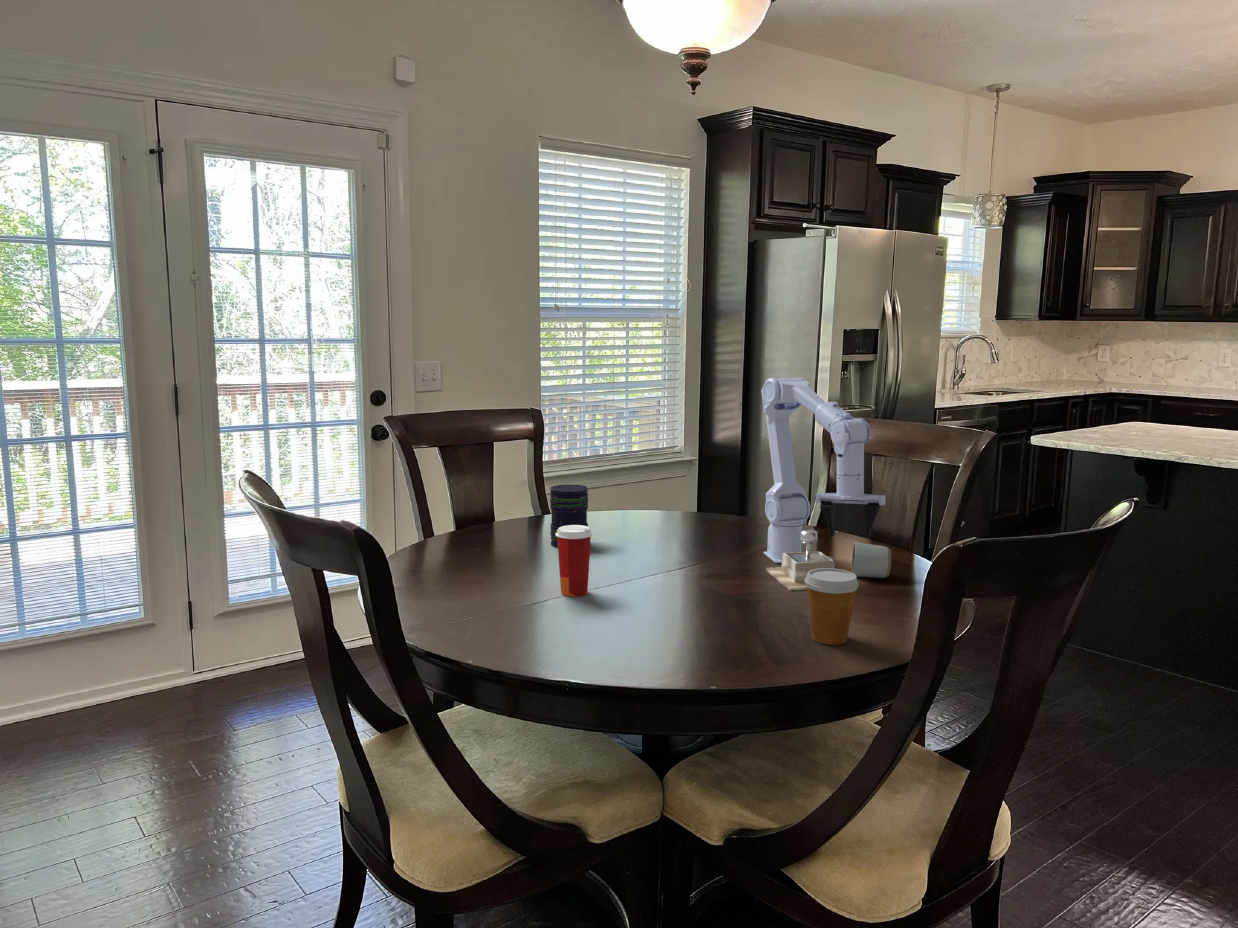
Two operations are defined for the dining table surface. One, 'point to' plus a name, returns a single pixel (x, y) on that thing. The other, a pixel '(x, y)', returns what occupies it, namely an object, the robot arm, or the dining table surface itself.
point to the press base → (798, 570)
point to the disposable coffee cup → (830, 604)
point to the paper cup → (574, 559)
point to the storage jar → (567, 507)
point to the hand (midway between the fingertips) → (850, 536)
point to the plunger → (808, 548)
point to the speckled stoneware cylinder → (871, 560)
